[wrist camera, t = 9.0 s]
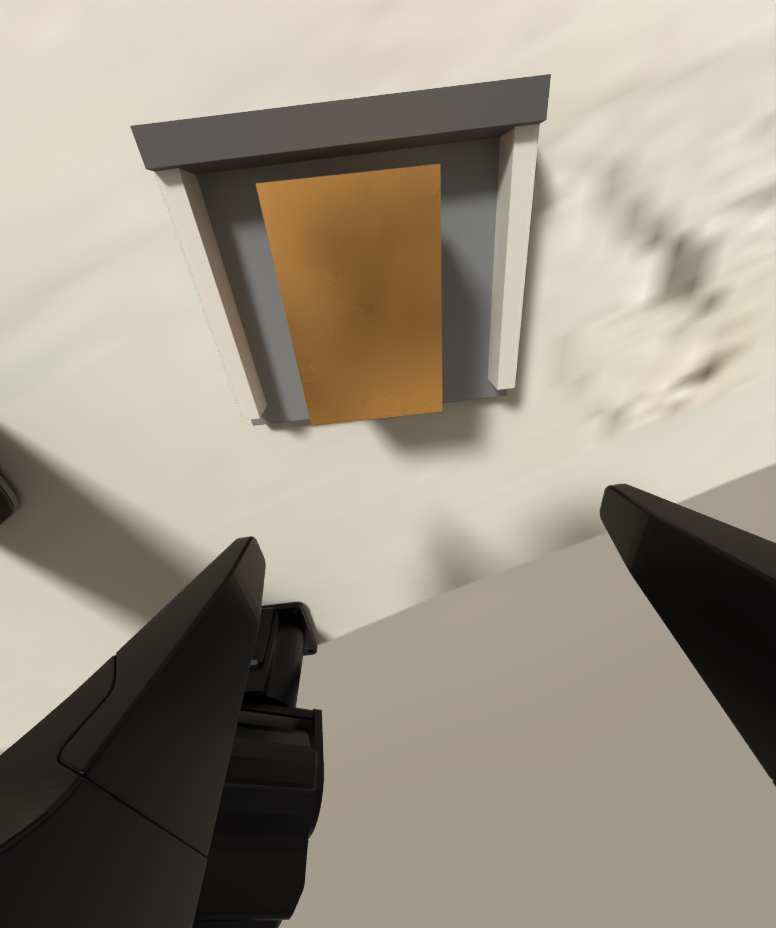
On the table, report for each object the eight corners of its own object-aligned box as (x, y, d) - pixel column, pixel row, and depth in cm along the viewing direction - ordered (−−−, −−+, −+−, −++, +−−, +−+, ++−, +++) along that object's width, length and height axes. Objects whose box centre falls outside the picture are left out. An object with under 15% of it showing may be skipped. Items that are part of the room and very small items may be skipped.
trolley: (422, 368, 17) (442, 411, 13) (323, 378, 17) (311, 425, 13) (415, 185, 14) (440, 163, 9) (288, 198, 13) (255, 183, 9)
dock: (500, 388, 19) (521, 411, 17) (258, 417, 19) (242, 445, 17) (520, 104, 13) (557, 73, 11) (169, 147, 13) (123, 126, 11)
